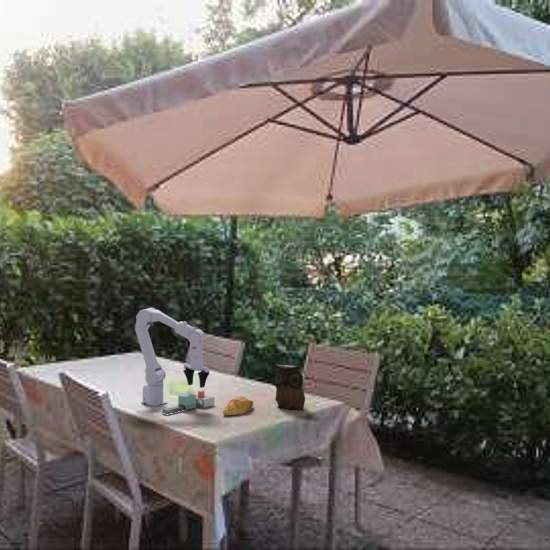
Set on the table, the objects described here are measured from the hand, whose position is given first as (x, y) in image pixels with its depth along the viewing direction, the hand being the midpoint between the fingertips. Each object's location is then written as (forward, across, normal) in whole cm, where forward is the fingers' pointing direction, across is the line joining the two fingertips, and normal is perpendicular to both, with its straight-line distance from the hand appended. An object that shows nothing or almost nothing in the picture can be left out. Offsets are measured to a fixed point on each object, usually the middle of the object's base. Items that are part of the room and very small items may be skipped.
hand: (196, 386), depth 325 cm
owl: (+10, +34, +28) cm, 45 cm away
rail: (+10, 0, -10) cm, 14 cm away
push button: (+7, 0, +3) cm, 8 cm away
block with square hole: (+10, 0, +3) cm, 10 cm away
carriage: (+10, 0, -6) cm, 11 cm away
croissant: (+10, +20, +6) cm, 23 cm away
